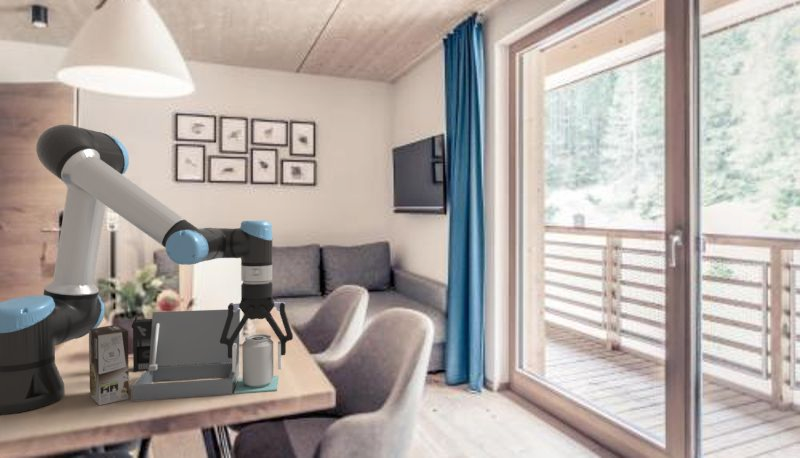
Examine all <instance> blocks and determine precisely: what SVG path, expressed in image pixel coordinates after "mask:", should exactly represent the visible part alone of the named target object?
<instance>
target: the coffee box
mask: <svg viewBox="0 0 800 458" xmlns="http://www.w3.org/2000/svg"><path fill="white" fill-rule="evenodd" d="M88 357H89V360H88V362H89V394H90V397H91V399H93V400H94V401H95V402H96V404H98V406H102V405H107V404H111V403H116V402H120V401H125V400H129V398H130V397H129V396H130V395H129V394H130V393H129V392H130V391H129V390H130V389H129V388H130V387H129V385H130V384H129V383H130V380H129V379H130V378H129V376H130V375H129V330H128V329H126V328H124V327H123V326H120V325H119V324H111V325H106V326H100V327H99V326H98V327H97V328H94V329H89V333H88Z"/></svg>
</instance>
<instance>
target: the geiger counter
mask: <svg viewBox="0 0 800 458" xmlns="http://www.w3.org/2000/svg"><path fill="white" fill-rule="evenodd" d="M131 328H132V344H133V345H132V349H133V352H132V357H133V358H132V362H133V363H132V364H133V372H134V373H136V372H146V370H147V369H148V368H149V362H150V346H151V331H152V318H144V319H142V318H141V319H140V318H138V314H136V315H135V316H134V320H133V321H132V324H131ZM158 367H159V366H158Z"/></svg>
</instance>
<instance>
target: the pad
mask: <svg viewBox="0 0 800 458" xmlns="http://www.w3.org/2000/svg"><path fill="white" fill-rule="evenodd" d="M278 384H279V375H273V380H272V381H271V382H270V384H269V385H267V386H264V387H257V388H253V387H248V386H246V384H244V383H243V377H238V379H237V382H236V384H235V387H234V390H233V394H234V395H235V394H237V395H239V394H251V393H265V392H266V393H268V392H276V391H278V387H279V386H278Z"/></svg>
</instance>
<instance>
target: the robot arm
mask: <svg viewBox="0 0 800 458" xmlns="http://www.w3.org/2000/svg"><path fill="white" fill-rule="evenodd" d="M35 150H36V155H37V157H38V160H39V161H40V163H41V164H42V166H43V167H44V168H45V169H46V170H48V172H50V173H51V174H53V175H54V176H56V178H58V179H60V180H61V182H62V183H64V185H65V186H66V188H67V191H66V196H65V203H64V209H63V216H62V223H61V227H60V234H59V235H60V236H59V240H58V246H57V247H58V248H57V254H56V260H55V266H54V273H53V279H52V280H51V282H49V283H47V284H46V285H45V286H44V289H43V293H42V294H41V295H40V294H38V295H37V294H36V295H26V296H21V297H15V298H10V299H7V300H5V301H2V302H0V415H7V414H15V413H21V412H27V411H31V410H35V409H36V410H37V409H39V408H43V407H45V406H48V405H51V404H53V403H56V402H57V401H59V400H61V399H62V398H63V397H64V396H65V393H66V391H65V382H64V381H63V379H62V376H61V373H60V371H59V369H58V366H57V365H56V350H55V349H56V348H55V347H56V346H59V345H61V344H64V343H67V342H70V341H73V340H76V339H81V338H82V337H85V336H87V335H89V329H94V328H99V326H100V325H101V324H102V322H103V320H104V317H105V312H106V311H105V309H106V308H105V304H104V301H102V298H101V296H100V295H99V291H100V290H99V287H98V286H97V285H95V284H94V280H95V274H96V265H97V262H98V255H99V249H100V248H99V247H100V243H101V235H102V229H103V224H104V218H105V211H106V207H108V208H109V209H110V210H112V211H113V212H115V213H116V214H117V215H118V216H120V217H121V218H123V219H124V220H125V221H127V222H128V223H130V224H131V225H133V226H134V227H136V228H137V229H138V230H140V231H141V232H142V233H144V234H146V235H147V236H148V237H150V238H151V239H152V240H153V241H155V242H157V243H158V244H159V245H160V246H162V247H164V248H165V252H166V254H167V256H168V258H169V260H171V261H172V262H173V263H175V264H177V265H183V266H184V265H189V266H190V265H196V264H199V263H203V262H207V261H211V260H212V261H213V260H217V259H240V261H241V263H240V270H241V271H240V273H241V274H240V277H241V278H240V279H241V281H242V283H241V285H240V287H241V288H240V289H241V290H240V291H241V293H240V295H241V296H240V297H241V299H240V302H239V303H233V302H230V303H229V304H228V305H227V309H228V316H227V320H226V323H225V326H224V329H223V332H222V336H221V339H220V343H221V344H226V345H227V346H228V358H232V372H236V370H237V343H234V341H235V339H236V338H237V336H238V334H239V333H241V331H242V329H243V327H244V326H245V325H246V322H247V321H248V320H251V321H252V320H256V319H257V320H264V319H265V320H266V322H268V324H269V326H270V327H271V329H272V331H273V332H274V333H275V335H276V337H277V339H278V342H277V370H278V371H279V370H282V356H285V355H286V352H287V349H286V348H287V342H289V341H292V340H293V339H294V338H293V337H294V335H293V332H292V331H293V330H292V328H291V325H290V322H289V318H288V317H287V314H286V302H285V301H283V300H282V301H274V298H273V282H271V281H272V280H273V240H274V238H273V228H272V227H273V226H272V223H271V222H270V221H268V220H243V221H241V222H240V227H238V228H226V227H225V228H222V227H218V228H217V227H203V228H202V227H201V228H198V227H196V226H195V225H194V224H192V222H189V221H188V220H186V219H185V218H184V217H183V216H181V215H179V214H178V213H177V212H175V211H174V210H173V209H171V208H170V207H169V206H166V204H164V203H163V202H161V201H160V200H158V199H157V198H156V197H154V196H153V195H151V194H150V193H149V192H148V191H146V190H144V189H143V188H141V187H140V186H139V185H138V184H136V183H134V182H133V181H132V180H131V179H129V178H128V177H126V176H124V175H123V174H125V173H126V172H127V170H128V168H129V164H130V157H129V153H128V150H127V148H126V146H124V144H123V142H121V141H120V140H119V139H118V138H116V137H114V136H112V135H109V134H107V133H104V132H101V131H97V130H96V131H95V130H91V129H89V128H88V129H87V128H83V127H79V126H76V125H72V124H59V125H53V126H52V127H49V128H47V129H46V130H44V131H43V132H42V133H41V134H40V136H39V137H38V138H37V142H36V149H35ZM274 308H276V311H277V312H279V315H280V318H281V322H282V325H283V328H284V331H285V333H286V335H284V333H283V331H282V330H281V328H280V326H279V325H278V323H277V321H276V320H275V318H274V317H273V315H272V313H271V311H272V310H273V309H274ZM237 309H240V311H242V313H243V314H244V315H243V316H242V318H241V319H240V323H239V325H238V326H237V328H236V329H235V331H234V333H233V334H232V336H231V338H230V339H229V338H227V335H228V332H229V329H230V326H231V322H232V319H233V316H234V313H235V312H237Z"/></svg>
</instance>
